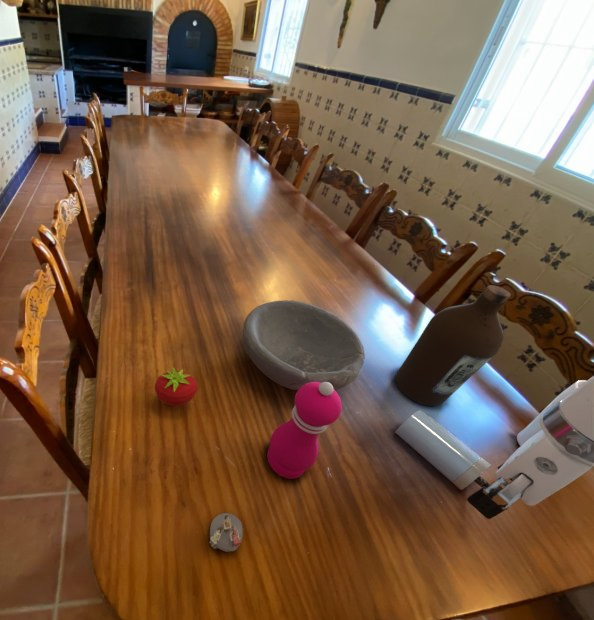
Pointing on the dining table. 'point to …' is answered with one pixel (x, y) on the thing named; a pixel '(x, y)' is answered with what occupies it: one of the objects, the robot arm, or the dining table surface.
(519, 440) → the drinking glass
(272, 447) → the pepper mill
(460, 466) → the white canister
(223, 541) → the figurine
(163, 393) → the red tomato
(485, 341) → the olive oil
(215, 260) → the dining table surface
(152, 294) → the dining table surface
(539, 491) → the robot arm
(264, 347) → the bowl
